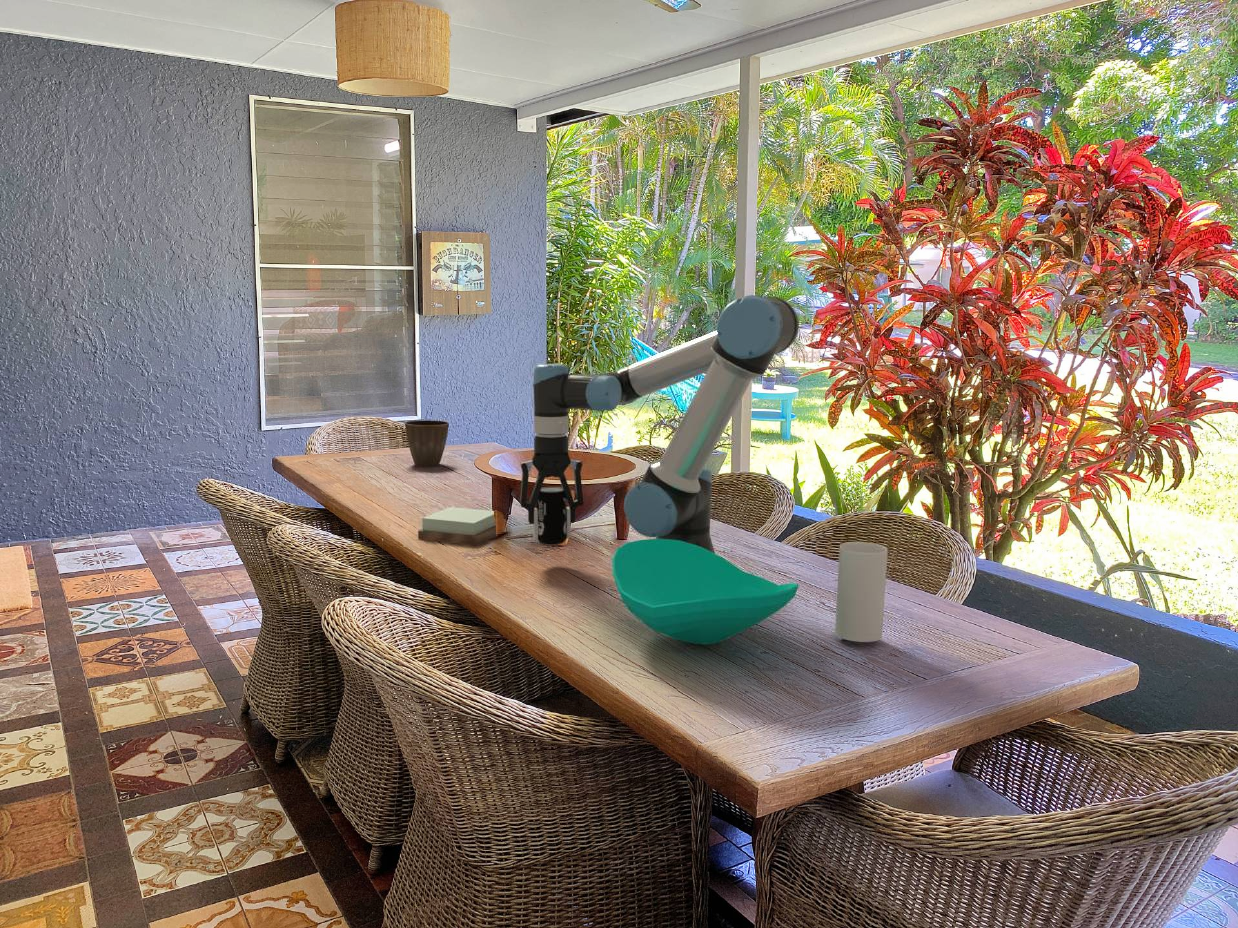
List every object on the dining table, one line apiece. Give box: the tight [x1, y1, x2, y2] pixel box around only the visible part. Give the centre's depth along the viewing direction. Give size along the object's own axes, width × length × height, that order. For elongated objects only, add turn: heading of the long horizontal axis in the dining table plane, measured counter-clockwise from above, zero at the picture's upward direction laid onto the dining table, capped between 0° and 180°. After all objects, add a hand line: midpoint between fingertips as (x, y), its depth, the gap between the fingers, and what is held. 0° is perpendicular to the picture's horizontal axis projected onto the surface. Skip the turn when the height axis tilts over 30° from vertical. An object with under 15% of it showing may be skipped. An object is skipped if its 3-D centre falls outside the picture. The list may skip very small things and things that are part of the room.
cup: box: [834, 541, 888, 643], centre depth 174 cm, size 8×8×16 cm
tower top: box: [421, 506, 495, 535], centre depth 243 cm, size 14×14×3 cm
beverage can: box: [536, 486, 568, 545], centre depth 217 cm, size 7×7×12 cm
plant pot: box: [404, 419, 450, 468], centre depth 338 cm, size 15×15×16 cm
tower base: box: [417, 526, 508, 547], centre depth 243 cm, size 16×16×3 cm
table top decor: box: [611, 538, 799, 645], centre depth 171 cm, size 40×28×13 cm
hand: (551, 537), depth 218 cm, fingers closed on beverage can, 6 cm apart
